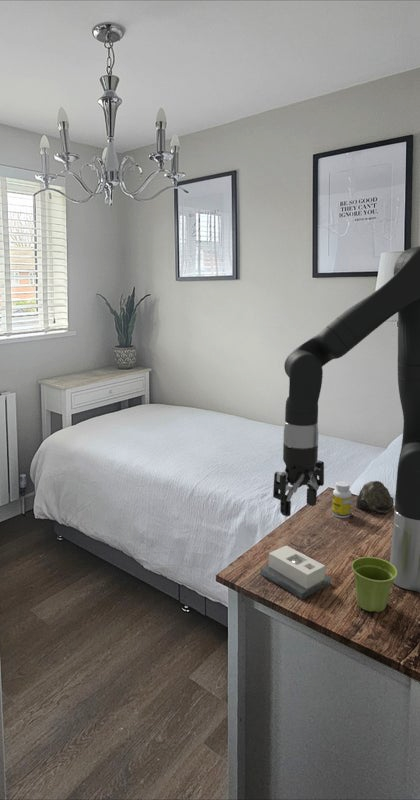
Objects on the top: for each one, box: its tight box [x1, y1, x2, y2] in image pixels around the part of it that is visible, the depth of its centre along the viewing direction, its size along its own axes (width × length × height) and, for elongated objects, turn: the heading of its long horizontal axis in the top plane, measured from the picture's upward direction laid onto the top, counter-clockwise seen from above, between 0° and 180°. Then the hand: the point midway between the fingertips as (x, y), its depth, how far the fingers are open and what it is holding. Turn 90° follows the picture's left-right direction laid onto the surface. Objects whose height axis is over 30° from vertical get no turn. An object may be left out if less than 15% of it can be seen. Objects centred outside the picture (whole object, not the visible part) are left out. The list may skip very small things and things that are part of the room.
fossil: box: [355, 480, 395, 515], centre depth 160 cm, size 11×9×10 cm
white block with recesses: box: [268, 545, 326, 589], centre depth 122 cm, size 12×6×4 cm, turn 39°
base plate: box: [260, 559, 332, 600], centre depth 122 cm, size 13×10×4 cm
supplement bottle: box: [331, 480, 353, 519], centre depth 155 cm, size 5×5×10 cm
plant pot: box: [351, 556, 397, 613], centre depth 112 cm, size 9×9×9 cm
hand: (298, 509), depth 119 cm, fingers open, 8 cm apart
